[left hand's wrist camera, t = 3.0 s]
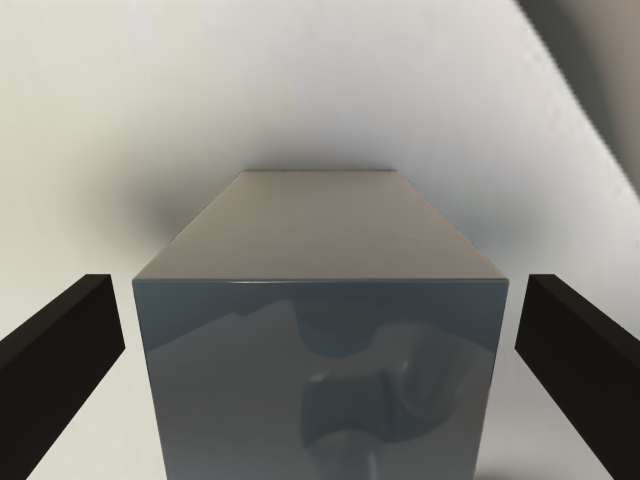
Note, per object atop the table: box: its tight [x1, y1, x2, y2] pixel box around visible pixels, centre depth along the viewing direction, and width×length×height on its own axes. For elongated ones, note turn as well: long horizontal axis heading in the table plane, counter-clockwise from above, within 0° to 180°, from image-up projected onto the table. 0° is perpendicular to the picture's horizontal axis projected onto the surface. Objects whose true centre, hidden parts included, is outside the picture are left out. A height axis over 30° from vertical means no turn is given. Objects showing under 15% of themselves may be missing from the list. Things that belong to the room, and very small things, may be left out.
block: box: [132, 171, 509, 480], centre depth 14 cm, size 7×7×11 cm
